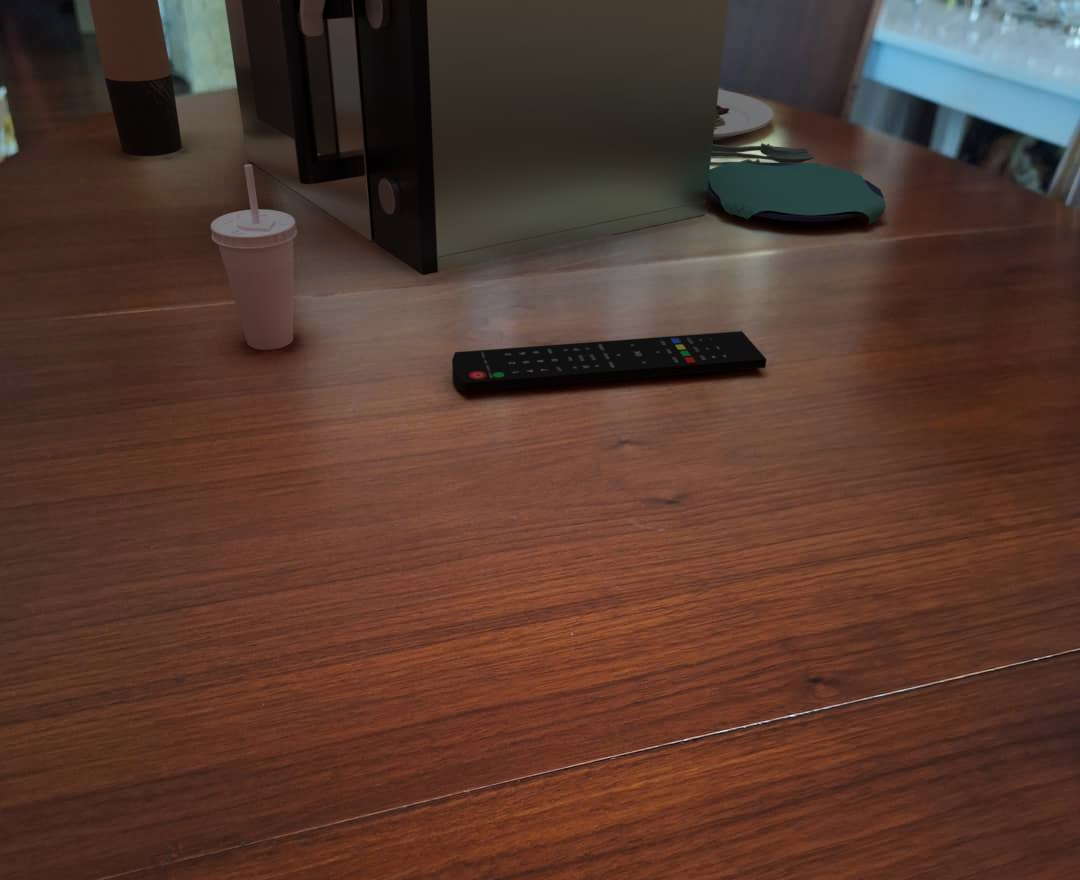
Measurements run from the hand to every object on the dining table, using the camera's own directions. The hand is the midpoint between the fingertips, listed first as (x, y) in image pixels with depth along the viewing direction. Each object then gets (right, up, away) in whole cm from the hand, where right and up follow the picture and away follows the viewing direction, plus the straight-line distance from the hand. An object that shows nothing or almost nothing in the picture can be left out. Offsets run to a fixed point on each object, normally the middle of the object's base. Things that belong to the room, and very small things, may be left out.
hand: (302, 31), depth 92 cm
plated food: (+38, +13, +53) cm, 67 cm away
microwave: (+12, -5, +27) cm, 29 cm away
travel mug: (-27, +3, +37) cm, 46 cm away
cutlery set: (+49, -5, +27) cm, 56 cm away
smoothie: (-1, -29, -8) cm, 30 cm away
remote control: (+26, -32, -12) cm, 43 cm away
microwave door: (-7, -8, +21) cm, 24 cm away
